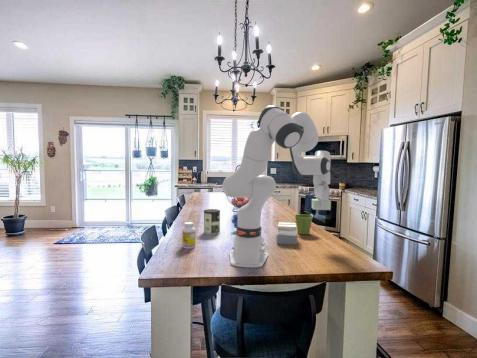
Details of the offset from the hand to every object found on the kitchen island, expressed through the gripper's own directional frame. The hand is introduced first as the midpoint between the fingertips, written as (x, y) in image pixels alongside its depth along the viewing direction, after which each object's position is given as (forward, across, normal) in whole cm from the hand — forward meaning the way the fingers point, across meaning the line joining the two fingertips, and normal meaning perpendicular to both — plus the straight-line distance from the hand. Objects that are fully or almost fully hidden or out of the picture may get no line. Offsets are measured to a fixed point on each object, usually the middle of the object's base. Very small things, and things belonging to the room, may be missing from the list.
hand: (320, 205), depth 146 cm
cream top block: (+17, +4, +18) cm, 25 cm away
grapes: (+22, +22, +46) cm, 55 cm away
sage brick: (+2, 0, 0) cm, 2 cm away
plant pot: (+22, +23, +6) cm, 32 cm away
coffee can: (+22, +16, +64) cm, 69 cm away
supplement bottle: (+22, -13, +70) cm, 74 cm away
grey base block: (+22, +4, +18) cm, 29 cm away
